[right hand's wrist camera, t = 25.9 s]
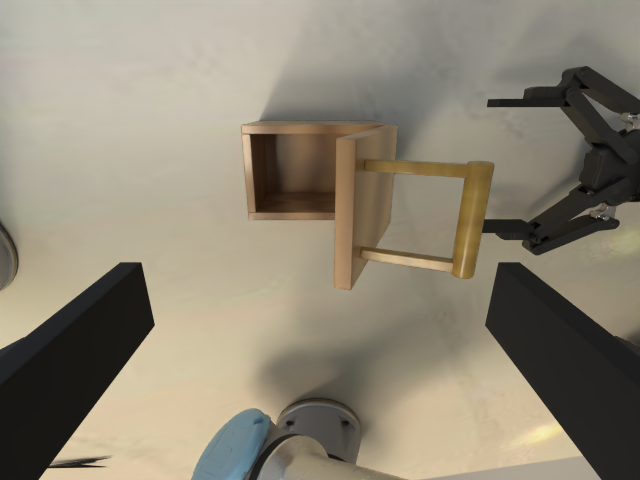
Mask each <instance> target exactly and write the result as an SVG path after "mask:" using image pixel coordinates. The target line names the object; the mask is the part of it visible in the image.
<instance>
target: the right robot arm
mask: <svg viewBox="0 0 640 480" xmlns="http://www.w3.org/2000/svg"><path fill="white" fill-rule="evenodd" d="M16 271H17V256H16V252H15V248H14V246H13V244H12V241H11V240H10V238H9V236H8V235H7V233H6V232H5V230H4V229H3V228H2V227H1V226H0V291H1V290H3V289H4V288H6V287H7V286H8V285H9V284H10V283H11V282H12V280H13V278H14V276H15V274H16ZM154 326H155V324H154V319H153V314H152V310H151V305H150V300H149V296H148V291H147V287H146V282H145V277H144V273H143V268H142V263H141V262H120V263H119V264H118V265H117V266H115V267H114V268H113V269H111V270H110V271H109V272H108V273H106V274H105V275H104V276H103V277H101V278H100V279H99V280H97V281H96V282H95V283H94V284H92V285H91V286H90V287H89V288H87V289H86V290H85V291H83V292H82V293H81V294H80V295H78V296H77V297H76V298H74V299H73V300H72V301H71V302H69V303H68V304H67V305H66V306H64V307H63V308H62V309H60V310H59V311H58V312H57V313H55V314H54V315H53V316H52V317H50V318H49V319H48V320H46V321H45V322H44V323H43V324H41V325H40V326H39V327H37V328H36V329H35V330H34V331H32V332H31V333H30V334H29V335H27V336H26V337H23V338H21V339H20V340H18V341H16V342H14V343H12V344H10V345H8V346H6V347H4V348H2V349H0V480H39V478H40V477H41V476H42V474H43V473H44V472H45V470H46V469H47V468H48V466H49V465H50V464H51V462H52V461H53V460H54V458H55V457H56V456H57V454H58V453H59V452H60V450H61V449H62V448H63V446H64V445H65V444H66V442H67V441H68V440H69V439H70V437H71V436H72V435H73V433H74V432H75V431H76V429H77V428H78V427H79V425H80V424H81V423H82V421H83V420H84V419H85V417H86V416H87V415H88V413H89V412H90V411H91V409H92V408H93V407H94V405H95V404H96V403H97V401H98V400H99V399H100V397H101V396H102V395H103V393H104V392H105V391H106V389H107V388H108V387H109V385H110V384H111V383H112V381H113V380H114V379H115V377H116V376H117V375H118V373H119V372H120V371H121V370H122V368H123V367H124V366H125V364H126V363H127V362H128V360H129V359H130V358H131V356H132V355H133V354H134V352H135V351H136V350H137V348H138V347H139V346H140V344H141V343H142V342H143V340H144V339H145V338H146V336H147V335H148V334H149V332H150V331H151V330H152V328H153V327H154ZM485 326H486V327H487V328H488V330H489V331H490V332H491V334H492V335H493V336H494V338H495V339H496V340H497V342H498V343H499V344H500V346H501V347H502V348H503V350H504V351H505V352H506V354H507V355H508V356H509V358H510V359H511V360H512V362H513V363H514V364H515V366H516V367H517V368H518V370H519V371H520V372H521V373H522V375H523V376H524V377H525V379H526V380H527V381H528V383H529V384H530V385H531V387H532V388H533V389H534V391H535V392H536V393H537V395H538V396H539V397H540V399H541V400H542V401H543V403H544V404H545V405H546V407H547V408H548V409H549V411H550V412H551V413H552V415H553V416H554V417H555V419H556V420H557V421H558V423H559V424H560V425H561V427H562V428H563V429H564V431H565V432H566V433H567V435H568V436H569V437H570V439H571V440H572V441H573V442H574V444H575V445H576V446H577V448H578V449H579V450H580V452H581V453H582V454H583V456H584V457H585V458H586V460H587V461H588V462H589V464H590V465H591V466H592V468H593V469H594V470H595V472H596V473H597V474H598V476H599V477H600V478H601V480H640V348H639V347H637V346H635V345H633V344H631V343H629V342H627V341H625V340H623V339H621V338H619V337H618V336H613V335H611V334H610V333H609V332H608V331H606V330H605V329H604V328H603V327H601V326H600V325H599V324H597V323H596V322H595V321H594V320H592V319H591V318H590V317H588V316H587V315H586V314H585V313H583V312H582V311H581V310H580V309H578V308H577V307H576V306H574V305H573V304H572V303H571V302H569V301H568V300H567V299H566V298H564V297H563V296H562V295H560V294H559V293H558V292H557V291H555V290H554V289H553V288H551V287H550V286H549V285H548V284H546V283H545V282H544V281H543V280H541V279H540V278H539V277H537V276H536V275H535V274H534V273H532V272H531V271H530V270H529V269H527V268H526V267H525V266H523V265H522V264H521V263H520V262H499V263H498V268H497V273H496V277H495V282H494V286H493V291H492V296H491V300H490V305H489V310H488V314H487V319H486V324H485Z"/></svg>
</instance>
